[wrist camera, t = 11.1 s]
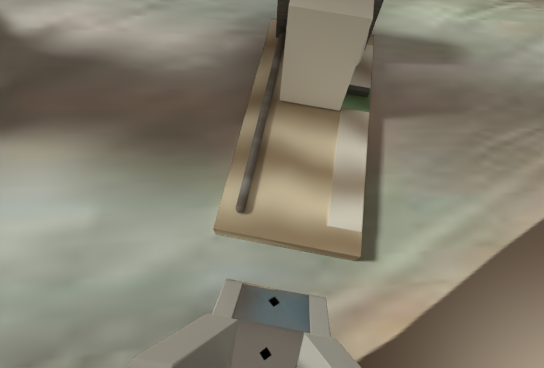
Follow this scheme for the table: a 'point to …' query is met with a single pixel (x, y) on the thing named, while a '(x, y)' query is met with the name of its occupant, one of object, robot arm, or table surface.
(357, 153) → the board
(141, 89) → the table surface
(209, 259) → the table surface
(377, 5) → the dark grey slab
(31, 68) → the table surface
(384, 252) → the table surface
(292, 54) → the block
